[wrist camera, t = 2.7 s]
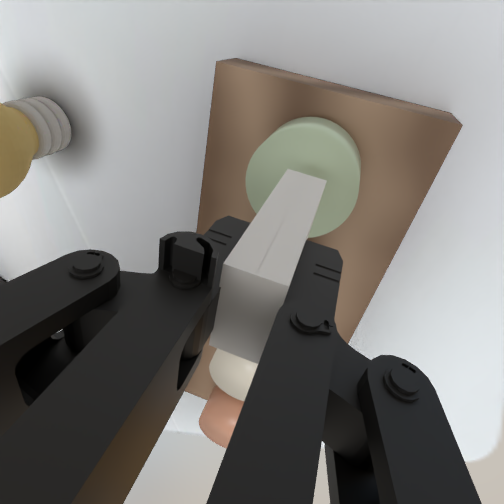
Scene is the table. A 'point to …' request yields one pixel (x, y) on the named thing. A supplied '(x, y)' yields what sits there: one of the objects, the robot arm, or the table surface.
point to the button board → (371, 178)
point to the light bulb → (28, 137)
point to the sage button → (309, 167)
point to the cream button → (232, 373)
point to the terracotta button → (220, 416)
